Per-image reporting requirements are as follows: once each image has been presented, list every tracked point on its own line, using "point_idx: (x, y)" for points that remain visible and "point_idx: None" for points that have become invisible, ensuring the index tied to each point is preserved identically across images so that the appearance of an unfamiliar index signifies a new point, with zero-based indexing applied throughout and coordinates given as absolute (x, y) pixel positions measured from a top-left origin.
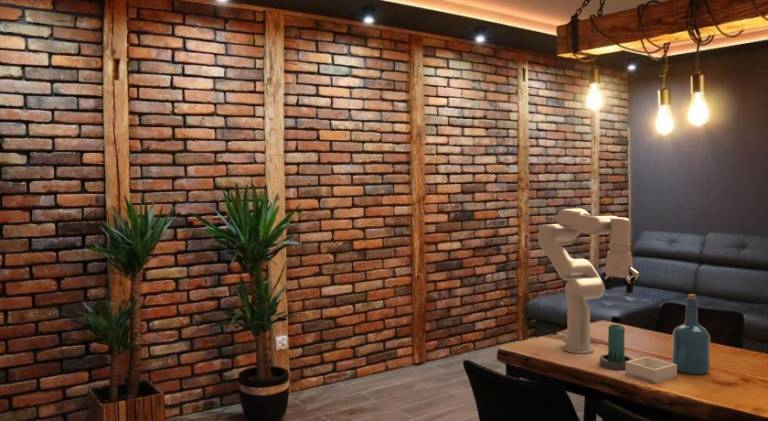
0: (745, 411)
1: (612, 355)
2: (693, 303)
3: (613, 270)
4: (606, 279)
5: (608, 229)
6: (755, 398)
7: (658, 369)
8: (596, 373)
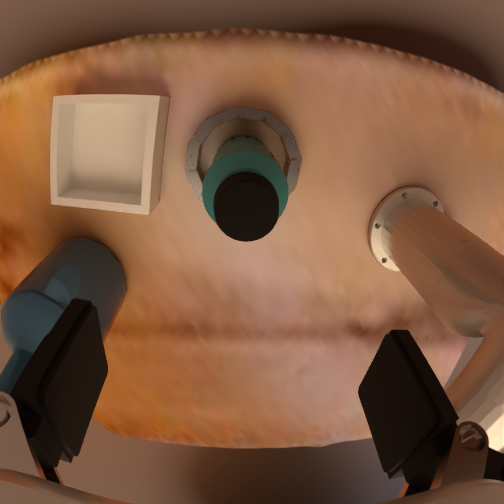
0: None
1: (242, 138)
2: None
3: None
4: (454, 432)
5: None
6: None
7: (52, 112)
8: (241, 38)
